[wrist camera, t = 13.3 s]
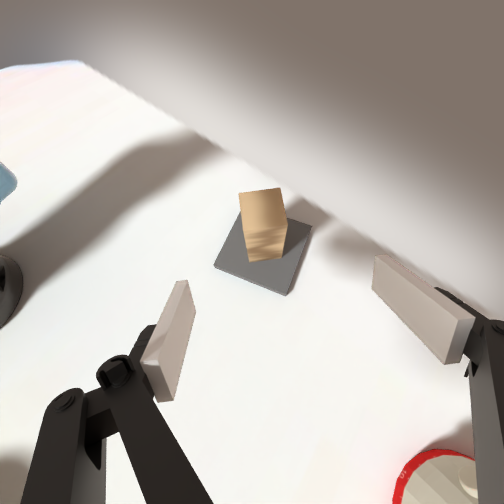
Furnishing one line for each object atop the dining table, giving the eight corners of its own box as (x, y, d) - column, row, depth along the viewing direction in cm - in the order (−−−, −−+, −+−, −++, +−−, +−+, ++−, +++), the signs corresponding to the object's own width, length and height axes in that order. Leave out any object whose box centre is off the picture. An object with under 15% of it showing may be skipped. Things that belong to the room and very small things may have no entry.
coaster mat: (215, 267, 38) (213, 264, 36) (245, 208, 41) (244, 203, 40) (285, 296, 35) (286, 294, 34) (310, 230, 39) (311, 226, 38)
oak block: (249, 262, 36) (243, 230, 26) (245, 233, 38) (238, 193, 28) (281, 258, 36) (287, 224, 26) (276, 229, 38) (280, 187, 28)
